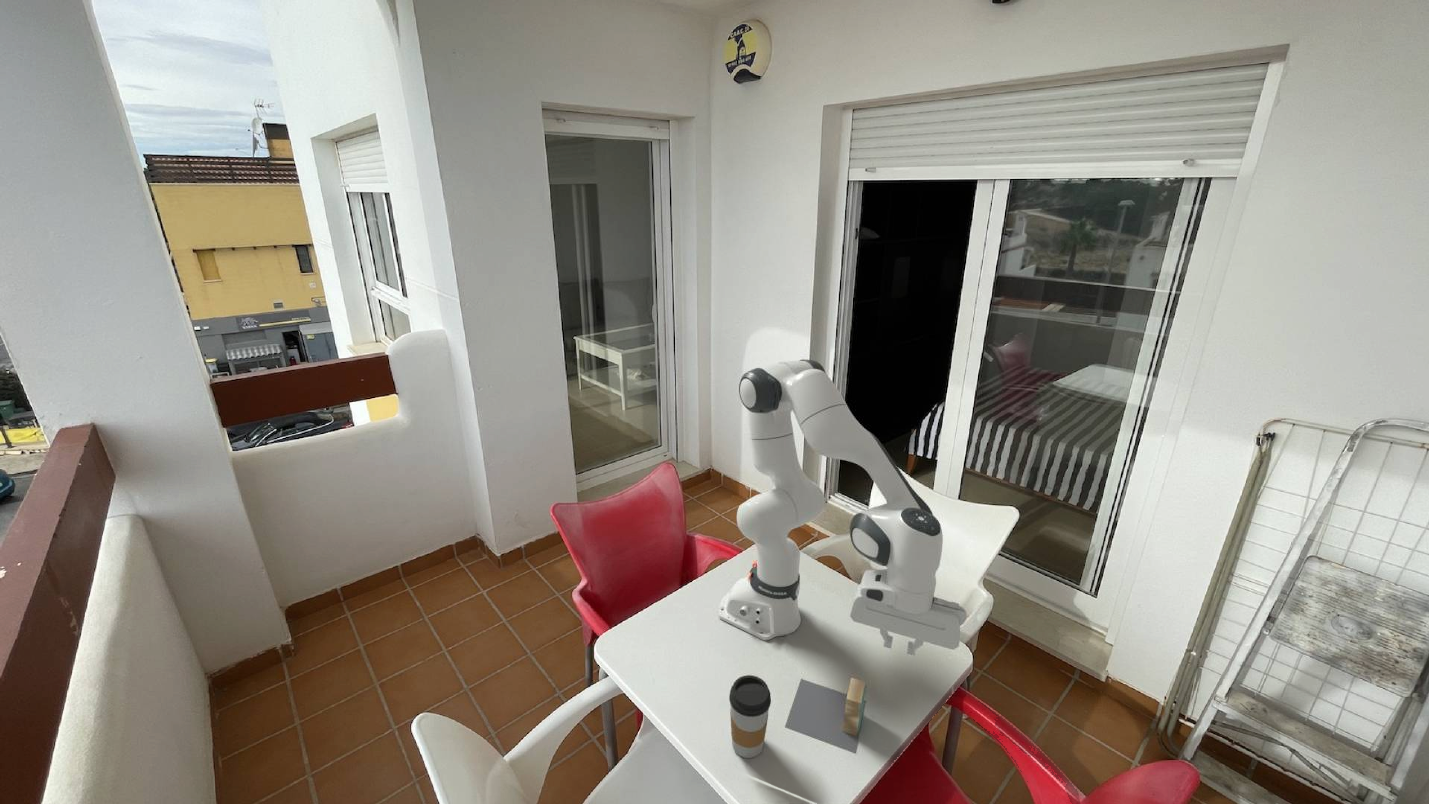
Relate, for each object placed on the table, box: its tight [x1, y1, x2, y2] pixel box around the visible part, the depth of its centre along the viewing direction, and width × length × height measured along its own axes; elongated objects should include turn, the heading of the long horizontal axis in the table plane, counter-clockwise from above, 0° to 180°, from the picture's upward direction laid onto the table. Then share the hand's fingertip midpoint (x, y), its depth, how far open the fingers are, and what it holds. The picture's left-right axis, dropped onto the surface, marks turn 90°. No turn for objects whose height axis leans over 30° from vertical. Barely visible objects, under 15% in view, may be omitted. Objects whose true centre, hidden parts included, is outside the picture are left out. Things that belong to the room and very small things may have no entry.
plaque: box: [842, 677, 867, 736], centre depth 116 cm, size 3×6×9 cm, turn 157°
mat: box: [784, 678, 866, 754], centre depth 120 cm, size 15×14×1 cm
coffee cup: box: [728, 674, 772, 759], centre depth 110 cm, size 8×8×15 cm
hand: (899, 649), depth 108 cm, fingers open, 3 cm apart
